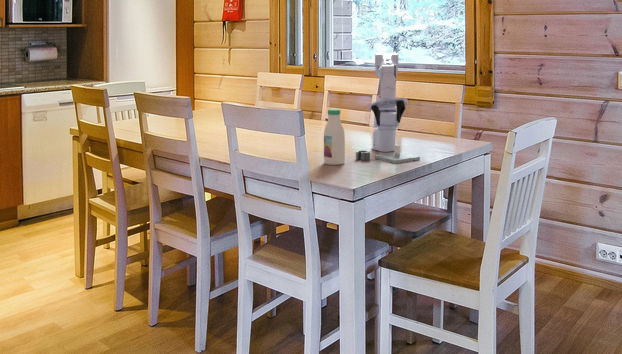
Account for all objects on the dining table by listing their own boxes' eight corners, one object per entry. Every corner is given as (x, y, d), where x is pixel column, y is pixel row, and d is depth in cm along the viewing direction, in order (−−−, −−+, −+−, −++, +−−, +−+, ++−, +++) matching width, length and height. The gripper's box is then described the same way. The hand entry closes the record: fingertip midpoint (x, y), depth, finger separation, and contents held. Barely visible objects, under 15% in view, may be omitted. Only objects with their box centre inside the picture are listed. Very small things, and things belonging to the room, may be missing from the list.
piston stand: (375, 158, 247) (375, 144, 246) (399, 154, 253) (399, 141, 252) (394, 163, 237) (394, 149, 236) (419, 159, 243) (420, 146, 242)
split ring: (353, 159, 246) (353, 151, 246) (364, 157, 249) (364, 149, 248) (361, 161, 242) (361, 153, 241) (372, 159, 245) (372, 151, 244)
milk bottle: (343, 161, 243) (343, 108, 238) (345, 165, 235) (345, 110, 231) (323, 161, 242) (322, 108, 238) (324, 165, 235) (324, 111, 231)
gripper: (366, 89, 244) (366, 120, 238) (404, 83, 239) (404, 114, 233) (371, 99, 250) (371, 129, 244) (408, 93, 245) (409, 124, 239)
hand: (388, 123), depth 239 cm, fingers open, 7 cm apart
